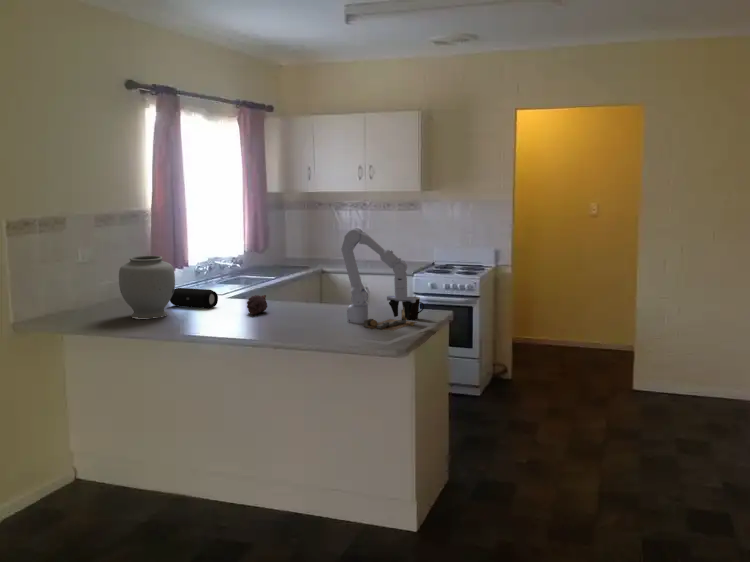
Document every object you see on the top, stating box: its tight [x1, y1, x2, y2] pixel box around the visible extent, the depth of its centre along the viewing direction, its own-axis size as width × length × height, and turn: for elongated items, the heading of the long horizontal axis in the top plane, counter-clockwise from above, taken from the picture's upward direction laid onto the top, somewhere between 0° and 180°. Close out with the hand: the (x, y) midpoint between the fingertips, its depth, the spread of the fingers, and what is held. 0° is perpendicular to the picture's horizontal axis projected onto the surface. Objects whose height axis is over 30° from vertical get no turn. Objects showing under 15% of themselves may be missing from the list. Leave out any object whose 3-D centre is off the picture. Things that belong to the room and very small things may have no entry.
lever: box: [377, 309, 408, 330], centre depth 333 cm, size 3×18×6 cm, turn 135°
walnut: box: [370, 319, 378, 327], centre depth 331 cm, size 3×3×3 cm
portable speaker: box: [169, 287, 219, 309], centre depth 396 cm, size 26×10×10 cm, turn 66°
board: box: [363, 318, 418, 331], centre depth 335 cm, size 17×21×4 cm
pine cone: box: [246, 294, 268, 316], centre depth 375 cm, size 18×10×10 cm
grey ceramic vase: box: [118, 255, 176, 318], centre depth 371 cm, size 27×27×30 cm
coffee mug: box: [401, 296, 425, 321], centre depth 351 cm, size 12×9×10 cm
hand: (401, 317), depth 340 cm, fingers open, 5 cm apart
